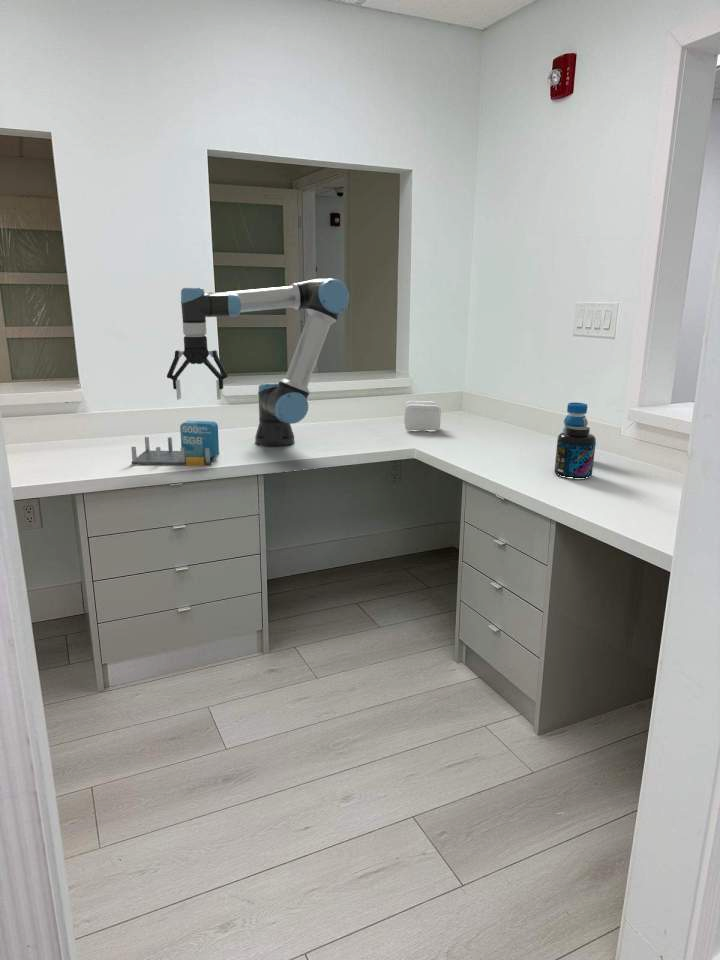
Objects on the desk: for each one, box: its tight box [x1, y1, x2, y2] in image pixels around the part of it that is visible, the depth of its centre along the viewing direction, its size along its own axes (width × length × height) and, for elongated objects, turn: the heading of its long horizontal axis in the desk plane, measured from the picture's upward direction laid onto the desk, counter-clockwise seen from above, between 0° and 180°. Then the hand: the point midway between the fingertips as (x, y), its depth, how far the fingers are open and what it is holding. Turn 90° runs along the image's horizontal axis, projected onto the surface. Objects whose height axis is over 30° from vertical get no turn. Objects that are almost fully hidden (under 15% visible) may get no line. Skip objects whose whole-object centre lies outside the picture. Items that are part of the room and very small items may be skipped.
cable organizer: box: [403, 400, 442, 431], centre depth 286 cm, size 15×11×12 cm
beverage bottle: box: [562, 401, 589, 432], centre depth 240 cm, size 8×8×20 cm
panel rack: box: [131, 436, 220, 467], centre depth 232 cm, size 26×17×6 cm, turn 91°
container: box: [554, 425, 597, 478], centre depth 219 cm, size 12×12×16 cm
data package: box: [179, 420, 220, 458], centre depth 231 cm, size 12×4×12 cm, turn 83°
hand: (199, 398), depth 229 cm, fingers open, 13 cm apart
